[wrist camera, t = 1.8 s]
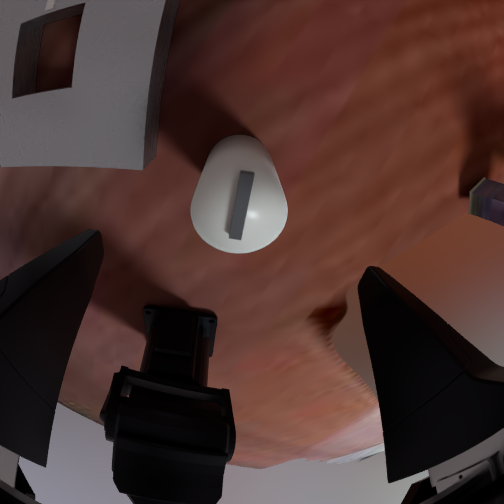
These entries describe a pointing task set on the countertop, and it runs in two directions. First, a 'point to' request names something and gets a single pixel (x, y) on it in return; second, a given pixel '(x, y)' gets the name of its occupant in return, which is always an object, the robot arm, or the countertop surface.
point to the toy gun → (488, 201)
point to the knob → (239, 197)
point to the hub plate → (85, 84)
